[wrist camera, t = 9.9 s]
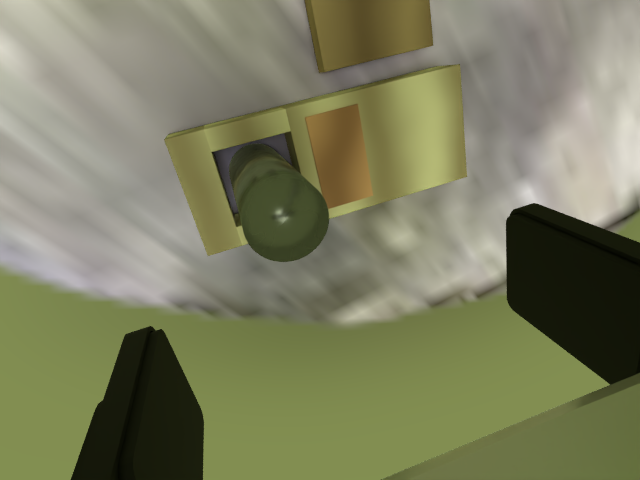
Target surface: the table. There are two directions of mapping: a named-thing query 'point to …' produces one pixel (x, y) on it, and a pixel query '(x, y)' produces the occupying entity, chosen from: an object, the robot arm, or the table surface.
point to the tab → (366, 30)
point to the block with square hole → (336, 147)
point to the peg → (276, 204)
